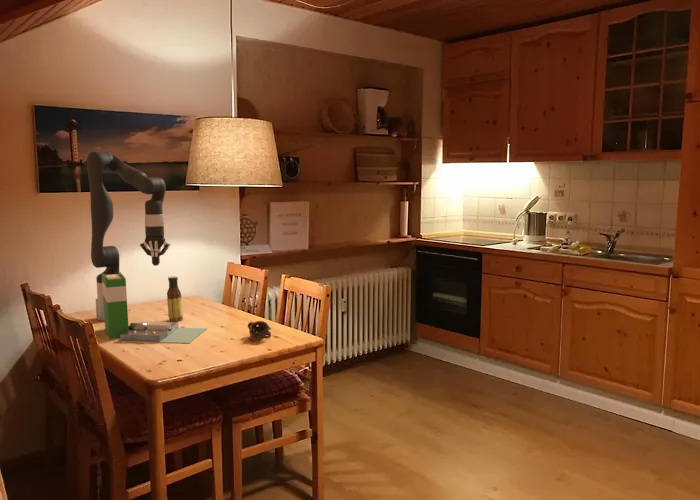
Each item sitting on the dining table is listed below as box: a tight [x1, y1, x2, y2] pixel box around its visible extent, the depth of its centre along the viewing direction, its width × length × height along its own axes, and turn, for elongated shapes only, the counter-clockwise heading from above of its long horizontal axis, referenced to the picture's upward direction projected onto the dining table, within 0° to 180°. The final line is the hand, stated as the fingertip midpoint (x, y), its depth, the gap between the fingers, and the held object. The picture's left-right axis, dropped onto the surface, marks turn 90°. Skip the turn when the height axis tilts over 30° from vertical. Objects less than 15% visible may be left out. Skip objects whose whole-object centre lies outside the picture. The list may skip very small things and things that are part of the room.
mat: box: [119, 327, 208, 344], centre depth 244 cm, size 28×22×1 cm
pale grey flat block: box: [139, 321, 179, 336], centre depth 247 cm, size 16×12×4 cm
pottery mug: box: [247, 320, 272, 342], centre depth 239 cm, size 12×10×8 cm
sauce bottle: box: [166, 275, 184, 322], centre depth 267 cm, size 7×6×20 cm
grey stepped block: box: [119, 322, 172, 342], centre depth 240 cm, size 18×12×5 cm
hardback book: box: [101, 271, 129, 340], centre depth 245 cm, size 18×7×24 cm, turn 28°
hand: (156, 265), depth 253 cm, fingers closed
